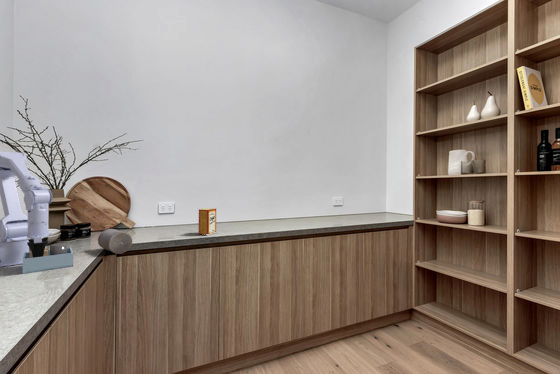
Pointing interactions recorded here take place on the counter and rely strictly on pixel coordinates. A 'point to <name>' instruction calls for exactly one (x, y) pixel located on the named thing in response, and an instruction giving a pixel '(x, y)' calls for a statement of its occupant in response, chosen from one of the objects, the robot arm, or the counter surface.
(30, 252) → the oak block
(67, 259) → the tote
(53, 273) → the counter surface
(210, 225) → the baking soda box
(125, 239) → the pillar candle
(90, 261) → the counter surface
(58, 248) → the grey cylinder
